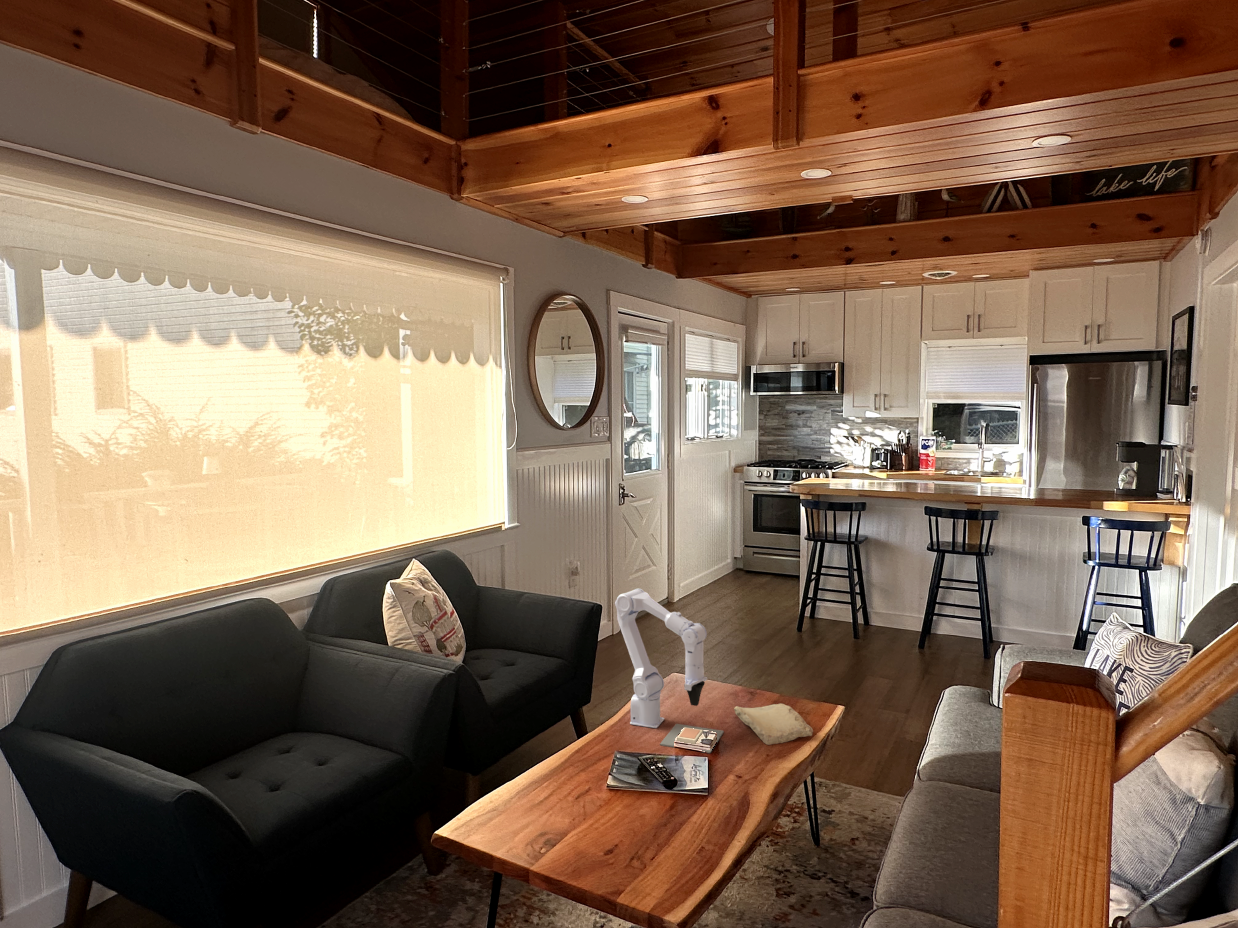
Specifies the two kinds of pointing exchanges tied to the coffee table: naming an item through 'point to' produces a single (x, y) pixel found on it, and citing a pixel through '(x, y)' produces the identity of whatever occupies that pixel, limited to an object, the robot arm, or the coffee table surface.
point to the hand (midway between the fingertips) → (694, 704)
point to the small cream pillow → (774, 723)
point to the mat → (677, 729)
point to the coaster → (689, 735)
